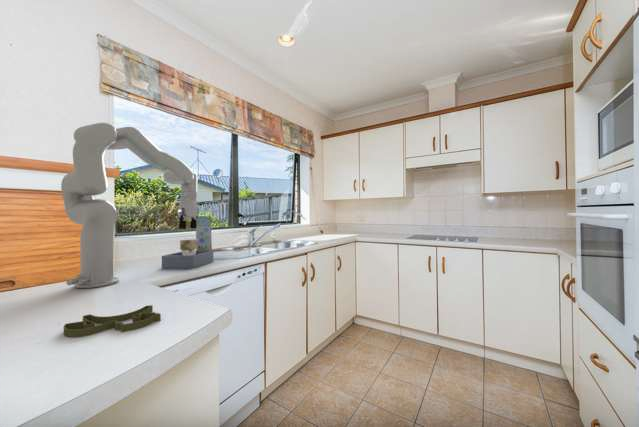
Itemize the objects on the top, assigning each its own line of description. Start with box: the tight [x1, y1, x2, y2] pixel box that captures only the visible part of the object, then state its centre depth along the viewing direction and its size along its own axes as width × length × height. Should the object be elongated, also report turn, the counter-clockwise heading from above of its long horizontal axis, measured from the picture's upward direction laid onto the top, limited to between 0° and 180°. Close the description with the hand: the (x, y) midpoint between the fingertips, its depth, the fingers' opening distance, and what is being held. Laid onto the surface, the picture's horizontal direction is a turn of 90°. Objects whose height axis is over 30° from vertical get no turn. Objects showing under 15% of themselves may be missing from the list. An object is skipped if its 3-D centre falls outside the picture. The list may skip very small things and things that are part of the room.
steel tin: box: [181, 249, 196, 256], centre depth 137 cm, size 7×7×7 cm
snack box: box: [195, 214, 213, 251], centre depth 162 cm, size 22×9×26 cm, turn 25°
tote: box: [161, 250, 214, 269], centre depth 138 cm, size 20×16×6 cm
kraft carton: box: [179, 238, 198, 251], centre depth 138 cm, size 6×6×5 cm
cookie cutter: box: [63, 304, 162, 339], centre depth 62 cm, size 18×12×2 cm, turn 121°
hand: (188, 228), depth 137 cm, fingers open, 9 cm apart
